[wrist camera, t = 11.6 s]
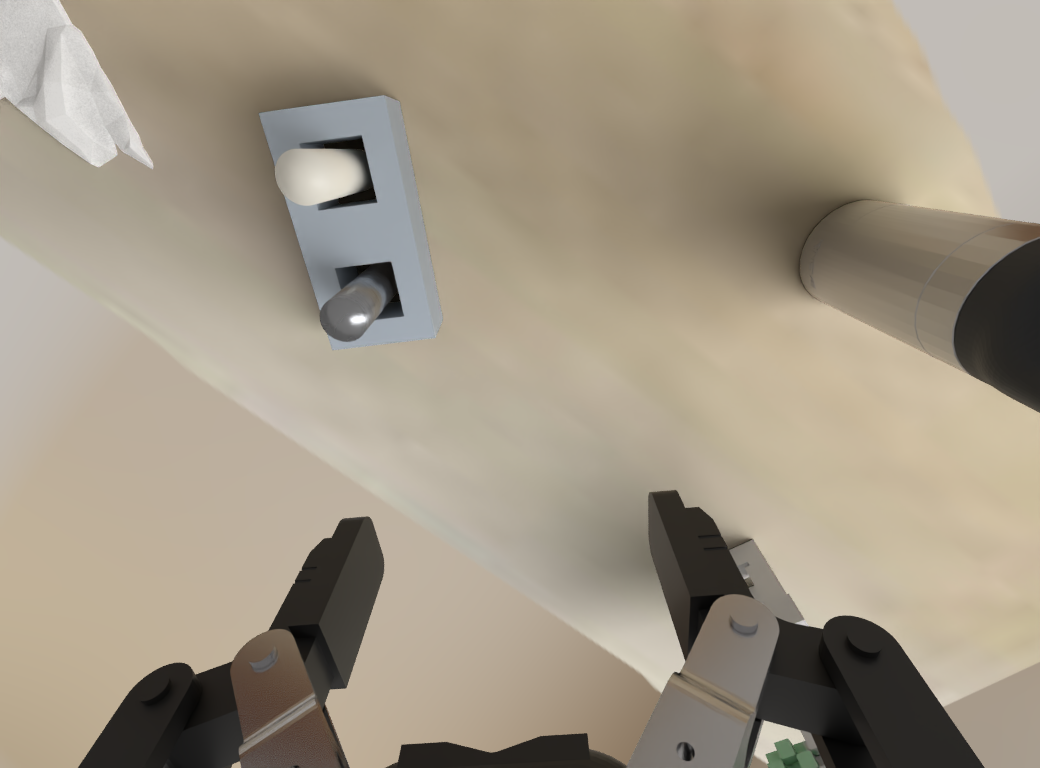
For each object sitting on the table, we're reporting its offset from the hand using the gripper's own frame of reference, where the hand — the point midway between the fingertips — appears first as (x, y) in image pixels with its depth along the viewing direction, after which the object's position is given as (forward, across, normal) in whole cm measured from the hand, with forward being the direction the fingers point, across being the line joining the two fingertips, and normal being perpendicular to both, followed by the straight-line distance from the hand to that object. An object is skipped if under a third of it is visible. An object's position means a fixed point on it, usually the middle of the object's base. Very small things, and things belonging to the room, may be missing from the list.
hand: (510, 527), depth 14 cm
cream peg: (+33, +12, -10) cm, 37 cm away
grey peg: (+33, +12, -1) cm, 35 cm away
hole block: (+33, +12, -5) cm, 36 cm away
